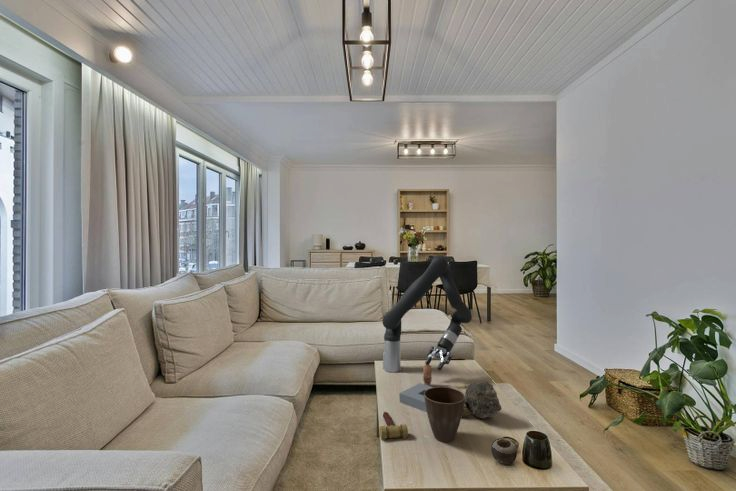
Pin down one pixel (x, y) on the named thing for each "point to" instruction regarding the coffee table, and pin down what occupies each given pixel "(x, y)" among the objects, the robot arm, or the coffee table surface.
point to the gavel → (392, 429)
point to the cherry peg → (427, 375)
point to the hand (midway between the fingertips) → (432, 367)
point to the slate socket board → (415, 396)
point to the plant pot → (444, 411)
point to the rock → (481, 400)
